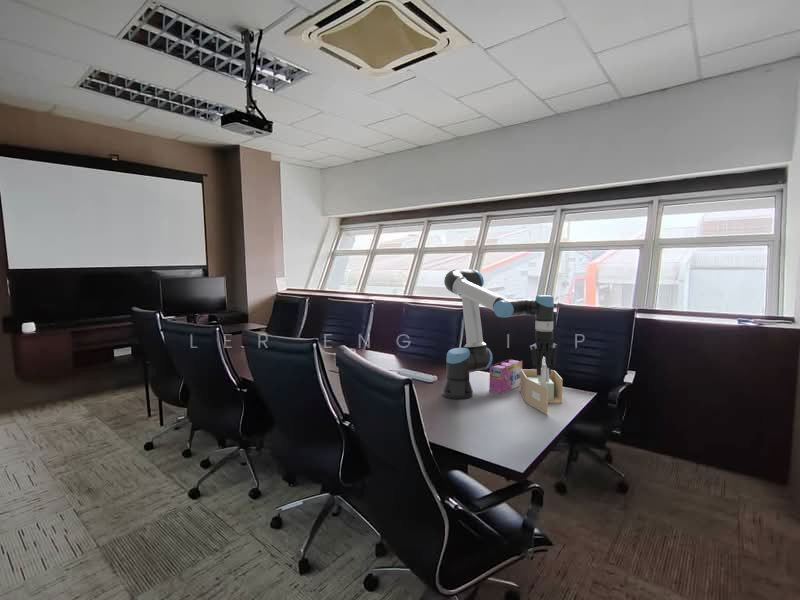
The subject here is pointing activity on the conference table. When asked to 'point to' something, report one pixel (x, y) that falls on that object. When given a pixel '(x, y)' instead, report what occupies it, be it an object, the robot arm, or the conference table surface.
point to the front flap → (537, 393)
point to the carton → (553, 385)
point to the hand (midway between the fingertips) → (543, 382)
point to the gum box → (505, 376)
